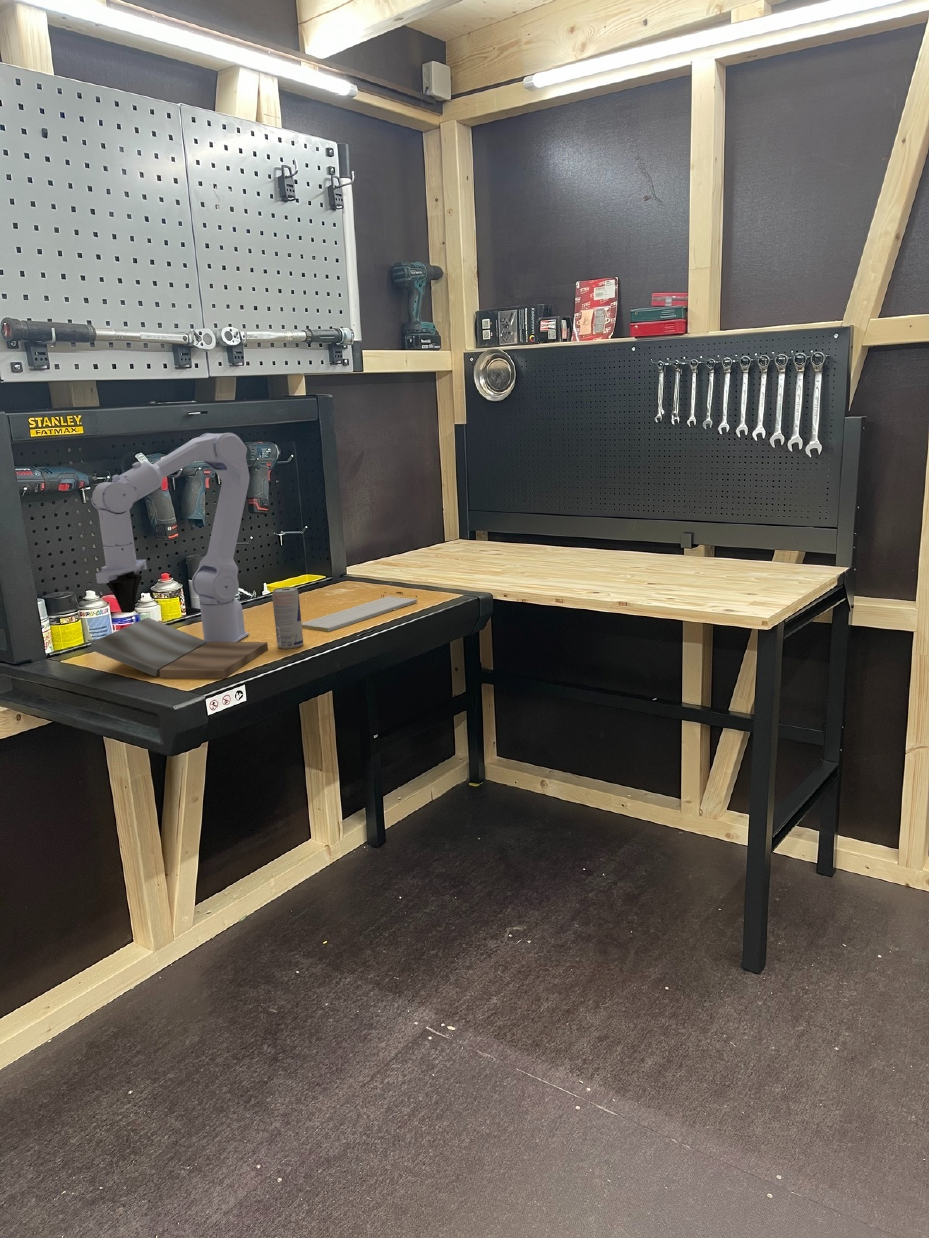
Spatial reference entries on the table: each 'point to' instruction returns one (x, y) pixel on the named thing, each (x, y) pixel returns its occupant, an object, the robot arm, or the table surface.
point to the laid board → (214, 660)
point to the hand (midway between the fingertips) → (128, 612)
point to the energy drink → (287, 617)
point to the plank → (147, 645)
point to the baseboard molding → (357, 613)
